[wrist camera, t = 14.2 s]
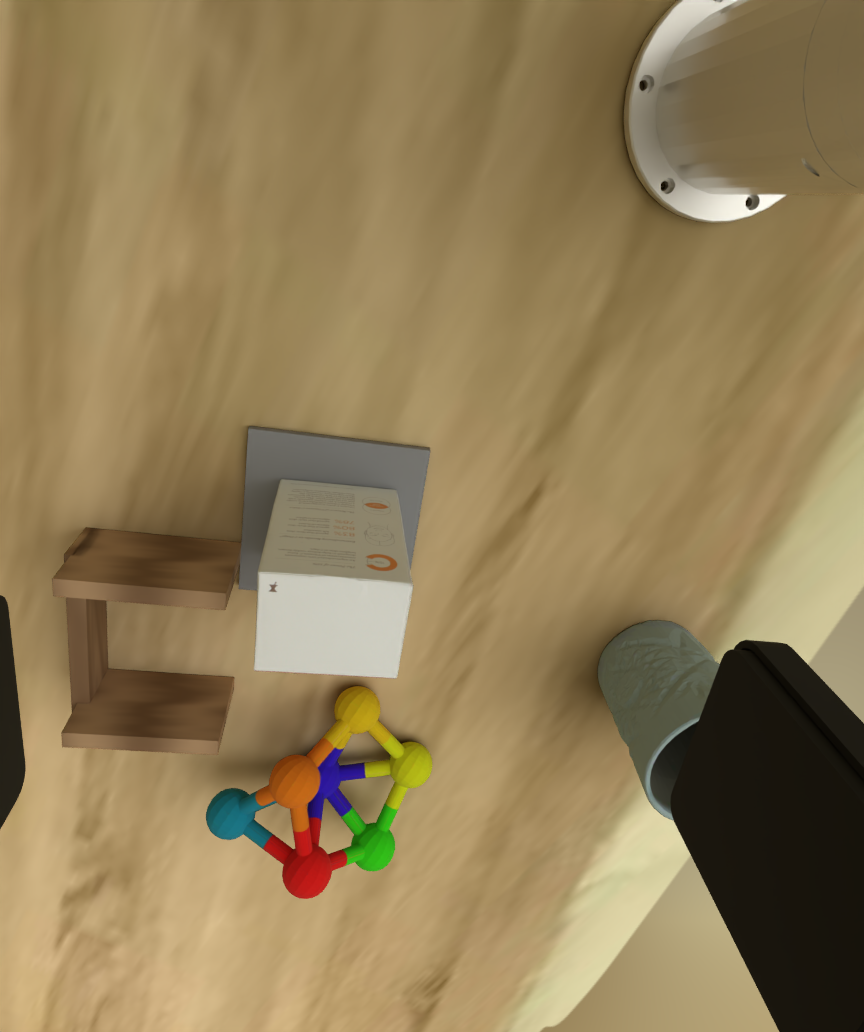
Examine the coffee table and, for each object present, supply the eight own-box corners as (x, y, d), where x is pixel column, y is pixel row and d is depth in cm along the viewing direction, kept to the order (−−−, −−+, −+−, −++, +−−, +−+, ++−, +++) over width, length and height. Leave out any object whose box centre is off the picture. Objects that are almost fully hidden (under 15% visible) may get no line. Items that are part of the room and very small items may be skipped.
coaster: (429, 447, 48) (430, 450, 48) (404, 599, 53) (404, 603, 52) (249, 425, 46) (248, 428, 46) (240, 584, 51) (238, 588, 50)
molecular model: (307, 643, 58) (192, 805, 55) (340, 675, 49) (204, 870, 46) (440, 732, 63) (342, 884, 60) (491, 775, 54) (378, 955, 51)
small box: (274, 560, 50) (249, 673, 38) (279, 476, 47) (255, 569, 35) (388, 569, 51) (398, 682, 39) (399, 488, 48) (414, 582, 37)
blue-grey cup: (576, 635, 56) (630, 742, 45) (699, 592, 55) (783, 689, 44) (605, 727, 60) (661, 845, 49) (719, 688, 60) (801, 798, 49)
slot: (242, 542, 50) (226, 593, 43) (233, 690, 55) (217, 755, 48) (85, 527, 48) (45, 578, 42) (91, 680, 53) (55, 746, 47)
